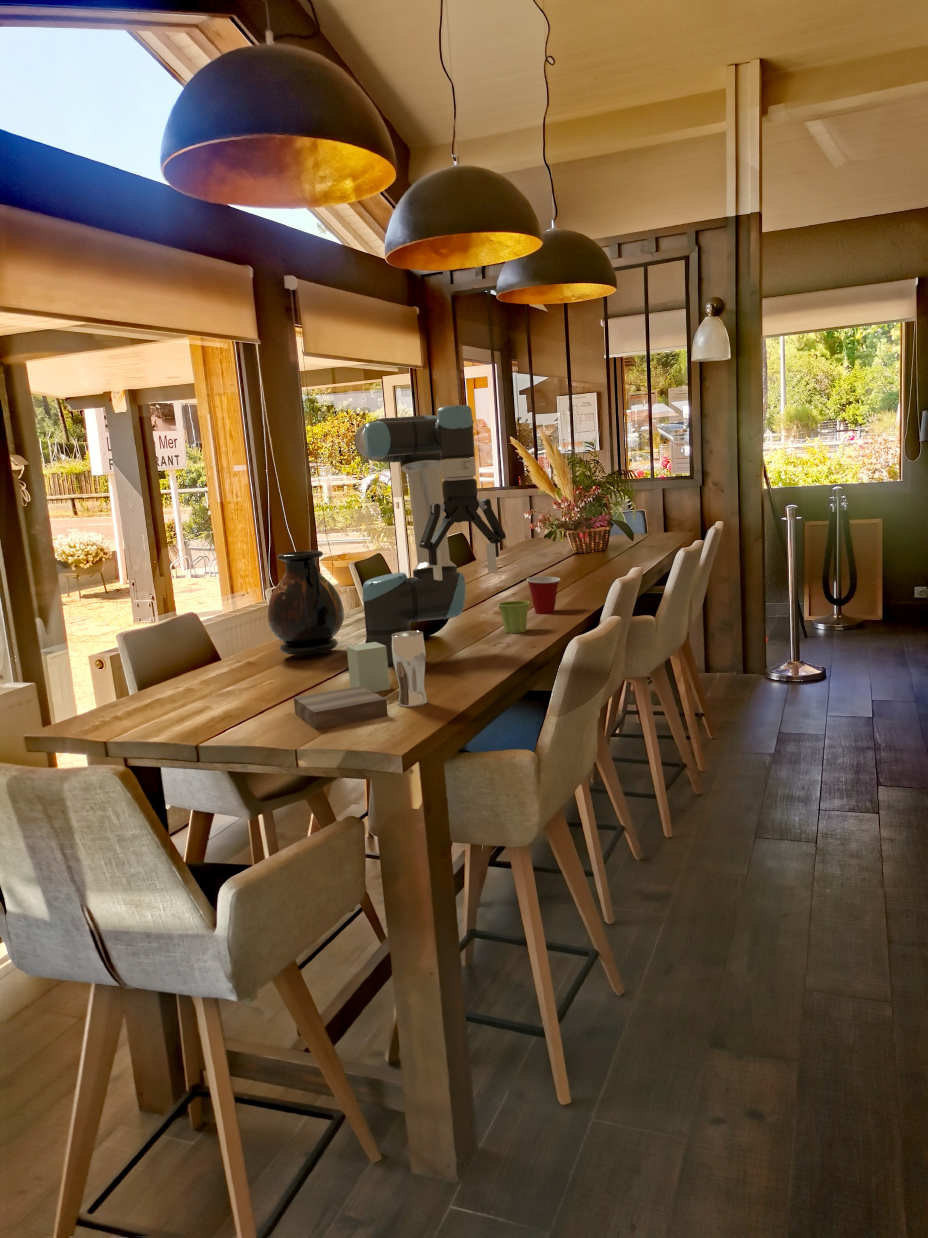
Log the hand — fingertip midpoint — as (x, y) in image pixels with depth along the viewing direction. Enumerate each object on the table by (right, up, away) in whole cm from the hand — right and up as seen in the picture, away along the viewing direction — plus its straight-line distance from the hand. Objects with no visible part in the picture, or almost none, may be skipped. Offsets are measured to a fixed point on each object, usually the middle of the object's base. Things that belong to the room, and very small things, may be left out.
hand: (465, 576), depth 205 cm
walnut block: (-26, -30, -14) cm, 42 cm away
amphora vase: (-45, -19, +62) cm, 79 cm away
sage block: (-22, -25, +8) cm, 34 cm away
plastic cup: (+26, -8, +94) cm, 98 cm away
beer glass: (-11, -27, -8) cm, 31 cm away
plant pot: (+15, -13, +67) cm, 70 cm away
